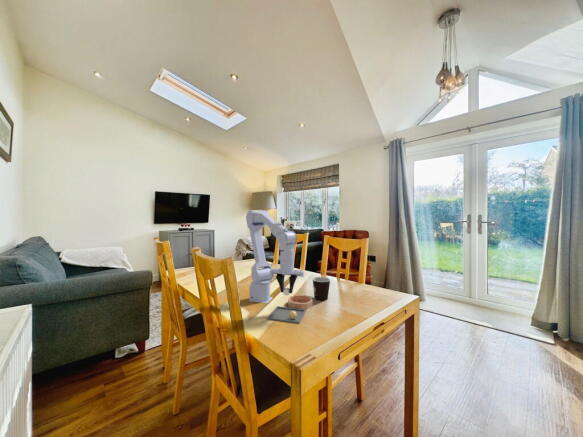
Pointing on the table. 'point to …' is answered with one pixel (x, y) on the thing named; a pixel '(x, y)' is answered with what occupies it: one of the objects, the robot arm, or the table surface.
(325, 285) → the coffee mug
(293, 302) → the bowl
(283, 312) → the parts tray
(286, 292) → the white ball
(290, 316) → the tan ball
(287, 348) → the table surface
